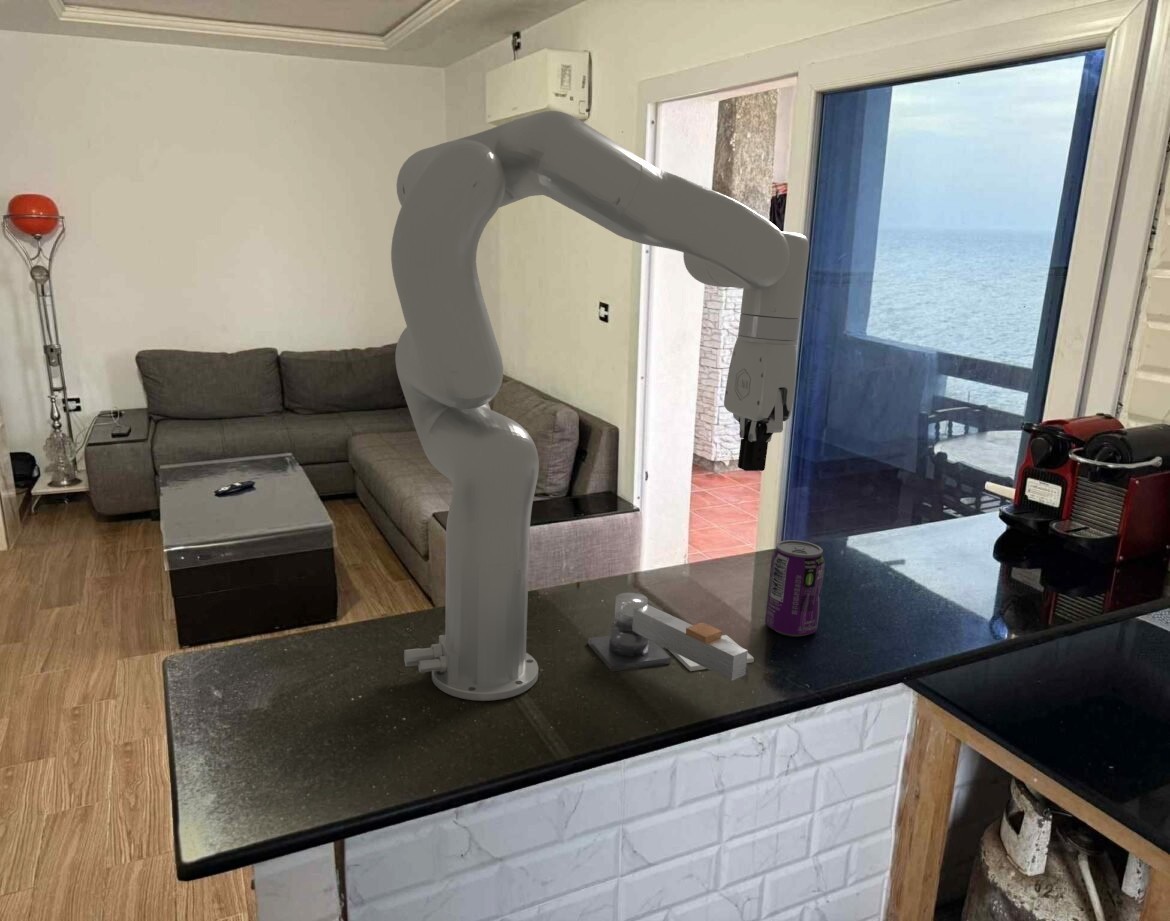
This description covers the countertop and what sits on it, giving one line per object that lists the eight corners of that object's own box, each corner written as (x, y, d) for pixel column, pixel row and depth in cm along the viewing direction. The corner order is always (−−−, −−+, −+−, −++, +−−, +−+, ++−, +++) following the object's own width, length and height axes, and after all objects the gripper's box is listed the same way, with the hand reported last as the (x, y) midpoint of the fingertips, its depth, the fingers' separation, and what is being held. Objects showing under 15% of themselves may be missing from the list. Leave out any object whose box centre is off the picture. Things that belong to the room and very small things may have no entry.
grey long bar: (607, 622, 110) (609, 594, 109) (630, 615, 112) (632, 588, 111) (727, 683, 95) (729, 651, 95) (749, 672, 98) (752, 642, 97)
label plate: (690, 671, 106) (690, 665, 106) (665, 646, 113) (665, 641, 113) (753, 662, 110) (754, 656, 109) (725, 639, 116) (726, 633, 116)
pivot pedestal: (611, 671, 105) (612, 645, 105) (588, 643, 113) (589, 618, 112) (670, 663, 108) (672, 637, 107) (643, 636, 115) (645, 612, 115)
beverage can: (818, 643, 116) (828, 558, 113) (764, 636, 117) (773, 552, 115) (815, 622, 123) (824, 542, 120) (764, 616, 124) (772, 536, 121)
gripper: (714, 324, 116) (700, 456, 120) (774, 334, 103) (755, 484, 107) (763, 327, 119) (747, 457, 123) (827, 338, 105) (806, 483, 109)
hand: (751, 469), depth 115 cm, fingers closed
